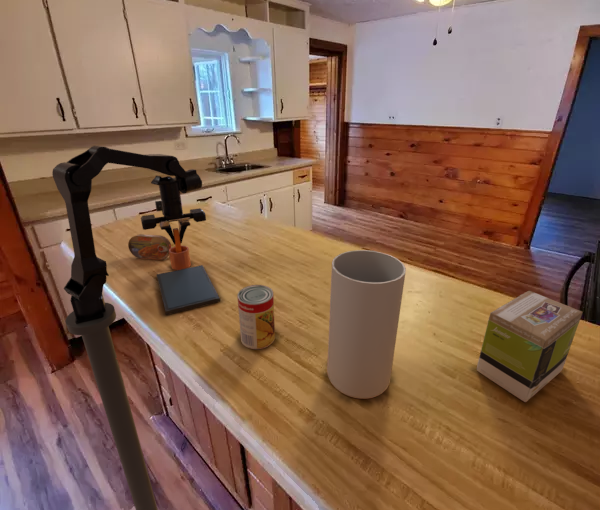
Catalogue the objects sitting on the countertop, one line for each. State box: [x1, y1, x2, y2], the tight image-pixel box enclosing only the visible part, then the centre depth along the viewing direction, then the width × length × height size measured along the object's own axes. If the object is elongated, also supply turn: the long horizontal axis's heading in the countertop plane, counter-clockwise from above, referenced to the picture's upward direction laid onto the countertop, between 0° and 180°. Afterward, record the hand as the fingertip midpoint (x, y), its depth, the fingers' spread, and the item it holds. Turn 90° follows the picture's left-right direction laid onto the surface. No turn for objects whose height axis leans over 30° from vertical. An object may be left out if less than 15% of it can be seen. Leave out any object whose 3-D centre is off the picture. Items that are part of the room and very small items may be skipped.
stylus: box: [172, 227, 182, 253], centre depth 109 cm, size 2×2×11 cm
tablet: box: [156, 264, 221, 316], centre depth 98 cm, size 14×22×1 cm, turn 27°
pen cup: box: [169, 245, 192, 271], centre depth 111 cm, size 6×6×6 cm
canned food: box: [236, 284, 276, 350], centre depth 76 cm, size 8×8×12 cm
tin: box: [127, 233, 172, 261], centre depth 116 cm, size 15×3×8 cm, turn 81°
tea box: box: [476, 290, 584, 403], centre depth 66 cm, size 15×10×15 cm
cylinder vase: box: [326, 249, 407, 400], centre depth 63 cm, size 12×12×25 cm
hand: (177, 243), depth 109 cm, fingers closed on stylus, 1 cm apart
